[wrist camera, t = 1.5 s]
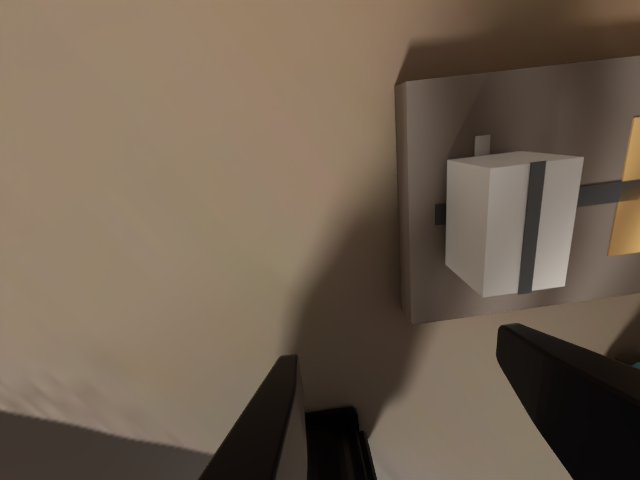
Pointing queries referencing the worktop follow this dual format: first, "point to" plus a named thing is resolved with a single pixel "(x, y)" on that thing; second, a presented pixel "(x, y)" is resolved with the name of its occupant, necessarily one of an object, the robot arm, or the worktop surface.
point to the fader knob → (511, 220)
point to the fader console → (531, 136)
